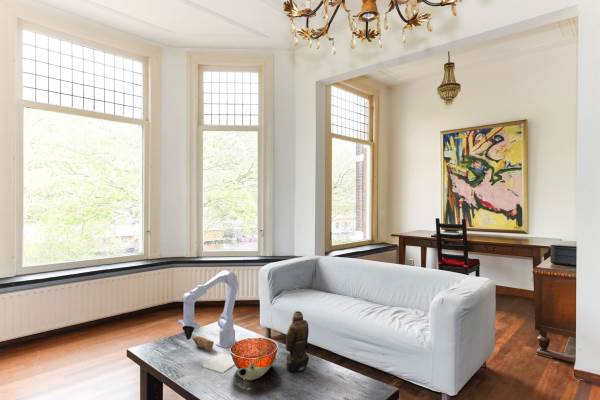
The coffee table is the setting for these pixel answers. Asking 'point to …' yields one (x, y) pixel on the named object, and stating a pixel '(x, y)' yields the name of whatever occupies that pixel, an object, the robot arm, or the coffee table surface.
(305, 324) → the sculpture
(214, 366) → the felt mat
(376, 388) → the coffee table surface
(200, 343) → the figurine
